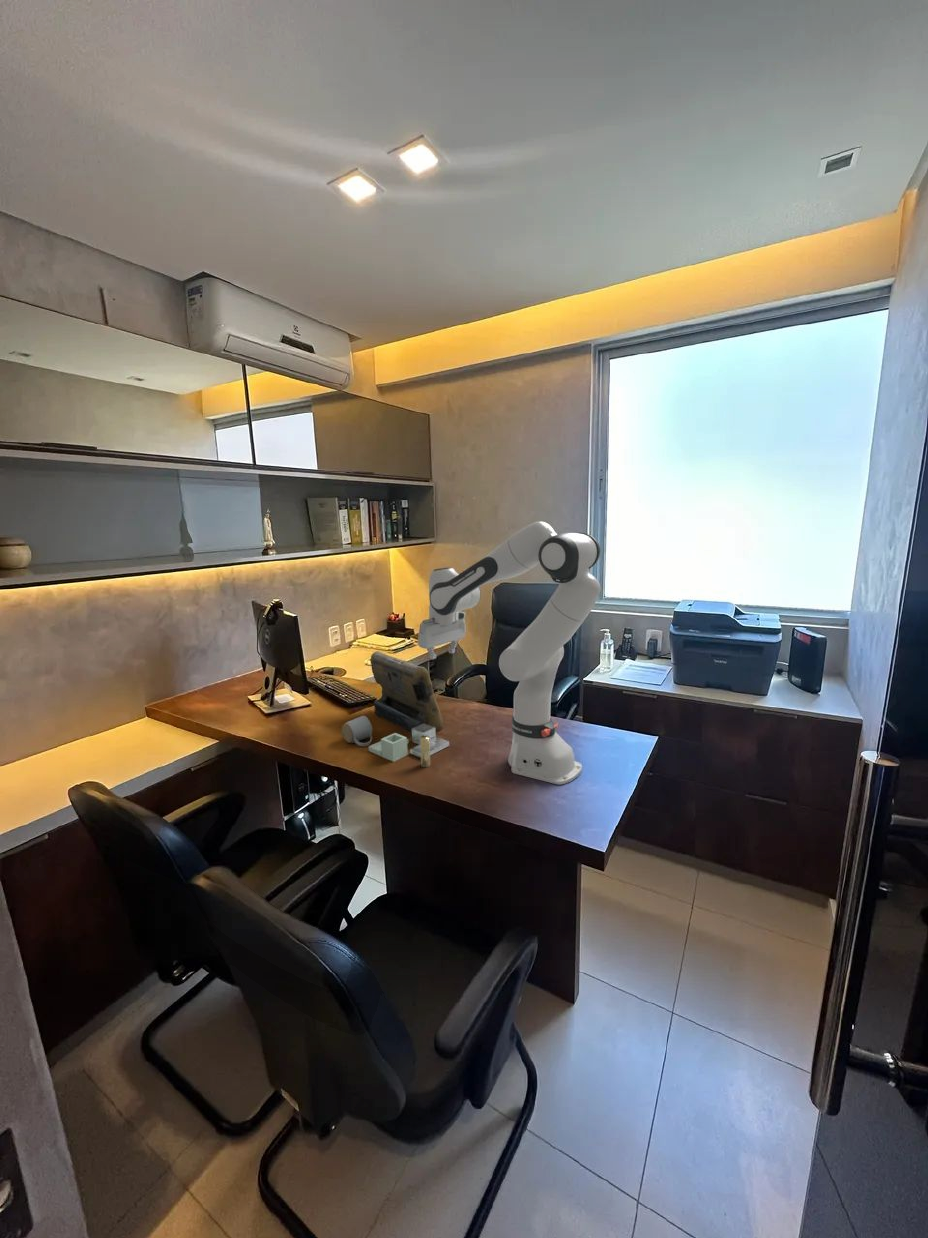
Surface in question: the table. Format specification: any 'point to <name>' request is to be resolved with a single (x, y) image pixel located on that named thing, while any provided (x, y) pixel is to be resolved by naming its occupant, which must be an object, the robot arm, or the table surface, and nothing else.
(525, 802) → the table surface
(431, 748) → the sliding leaf
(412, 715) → the tablet
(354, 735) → the ceramic mug
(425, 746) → the hinge pin
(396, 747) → the green square socket base
